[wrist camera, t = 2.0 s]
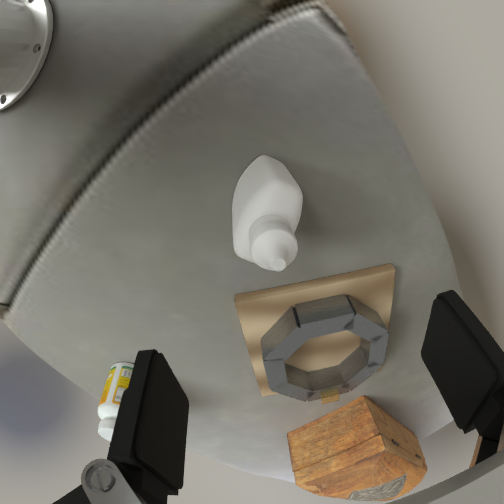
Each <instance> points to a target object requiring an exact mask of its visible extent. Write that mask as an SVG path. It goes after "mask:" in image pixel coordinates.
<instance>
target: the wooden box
mask: <svg viewBox="0 0 504 504" xmlns="http://www.w3.org/2000/svg"><path fill="white" fill-rule="evenodd" d="M287 438H288V445H289V451H290V457H291V463H292V470H293V472H294V476H295V481H296V485H297V486H299V487H301V488H303V489H305V490H307V491H309V492H312V493H314V494H317V495H320V496H325V497H333V498H342V499H346V500H359V501H360V500H361V501H386V500H391V499H394V498H397V497H399V496H402V495H404V494H405V493H407V492H409V491H411V490H412V489H413V488H414V487H416V485H418V484H419V483H420V482H421V480H422V479H423V477H424V475H425V474H426V472H427V466H426V463H425V458H424V456H423V453H422V450H421V448H420V445H419V442H418V440H417V438H416V436H415V434H414V433H413V432H412V431H410V430H409V429H408V428H406V427H405V426H404V425H402V424H401V423H400V422H398V421H397V420H396V419H394V418H393V417H392V416H391V415H389V414H388V413H387V412H386V411H384V410H383V409H382V408H381V407H379V406H378V405H377V404H375V403H374V402H373V401H372V400H370V399H369V398H368V397H366V396H365V395H363V396H361V397H359V398H358V399H356V400H354V401H352V402H350V403H349V404H347V405H345V406H343V407H341V408H339V409H337V410H335V411H333V412H331V413H329V414H327V415H325V416H323V417H321V418H319V419H317V420H315V421H313V422H311V423H309V424H307V425H305V426H302V427H300V428H298V429H296V430H294V431H291V432H289V433H287Z"/></svg>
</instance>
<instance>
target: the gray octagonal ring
mask: <svg viewBox="0 0 504 504" xmlns="http://www.w3.org/2000/svg"><path fill="white" fill-rule="evenodd" d="M345 330H348V331H350V332H352V333H354V334H356V335H358V336H360V337H361V339H360V346H359V347H358V348H357V349H356V350H355V351H354V352H352V353H351V354H350V355H349V356H348V357H347V358H346V359H345V360H343V361H342V362H341V363H340V364H339V365H336V366H332V367H328V368H323V369H319V370H314V371H310V372H307V371H304V370H302V369H299V368H296V367H294V366H291V365H289V364H286V363H284V361H285V360H287V359H288V358H289V357H290V356H291V355H292V354H293V353H294V352H295V351H296V350H297V349H298V348H299V347H301V346H302V345H303V344H304V343H305V342H306V341H307V340H308V339H310V338H314V337H319V336H324V335H328V334H332V333H337V332H341V331H345ZM388 337H389V332H388V330H387V328H386V326H385V324H384V322H383V321H382V319H381V317H380V315H379V314H378V312H376V311H375V310H373V309H371V308H370V307H368V306H367V305H365V304H363V303H362V302H360V301H358V300H357V299H355V298H354V297H352V296H350V295H349V294H347V295H345V293H344V294H340V295H335V296H331V297H326V298H321V299H316V300H312V301H307V302H302V303H297V304H295V307H293V306H291V307H290V308H289V309H288V310H287V311H286V312H285V313H284V314H283V315H282V316H281V317H280V318H279V320H278V321H277V322H276V323H275V324H274V325H273V326H272V327H271V328H270V329H269V330H268V331H267V332H266V333H265V334H264V335H263V336H262V337H261V340H260V342H261V350H262V359H263V364H264V368H265V372H266V376H267V380H268V384H269V388H270V389H271V390H272V391H273V392H276V393H279V394H283V395H286V396H289V397H292V398H296V399H299V400H302V401H306V400H308V401H312V400H317V399H321V402H322V404H325V403H329V402H333V401H337V400H339V394H343V393H347V392H349V390H351V391H352V390H353V389H354V388H355V387H357V386H358V385H359V384H361V383H362V382H363V381H364V380H366V379H367V378H368V377H369V376H370V375H372V374H373V373H374V372H375V371H376V370H378V369H379V368H380V367H381V366H382V364H384V359H385V354H386V349H387V343H388Z"/></svg>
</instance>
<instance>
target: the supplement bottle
mask: <svg viewBox="0 0 504 504" xmlns="http://www.w3.org/2000/svg"><path fill="white" fill-rule="evenodd" d="M133 367H134V364H131V363H127V362H120V363H116V364H115V365H113V366H112V367H111V369H110V372H109V375H108V378H107V381H106V384H105V387H104V391H103V394H102V397H101V400H100V404H99V407H98V415H99V417H100V419H101V422H100V423H99V428H98V433H99V434H100V436H102V437H103V438H105V439H106V440H108V441H110V442H111V438H112V434H113V430H114V426H115V422H116V418H117V414H118V410H119V406H120V402H121V398H122V395H123V392H124V390H125V389H127V388H128V385H129V382H130V378H131V374H132V371H133Z"/></svg>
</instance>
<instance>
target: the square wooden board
mask: <svg viewBox="0 0 504 504" xmlns="http://www.w3.org/2000/svg"><path fill="white" fill-rule="evenodd" d="M394 280H395V268H394V267H393V266H392V264H391V263H390V264H385V265H381V266H376V267H372V268H367V269H363V270H358V271H353V272H349V273H344V274H339V275H335V276H330V277H325V278H320V279H315V280H310V281H305V282H300V283H295V284H290V285H285V286H280V287H274V288H269V289H264V290H258V291H253V292H247V293H242V294H236V295H235V305H236V308H237V312H238V316H239V319H240V323H241V326H242V330H243V333H244V337H245V340H246V344H247V347H248V351H249V354H250V358H251V361H252V365H253V368H254V372H255V375H256V378H257V382H258V385H259V389H260V392H261V395H262V396H268V395H274V394H279V393H276V392H273V391H272V390H271V389H270V388H269V384H268V380H267V376H266V372H265V368H264V364H263V359H262V350H261V342H260V340H261V337H262V336H263V335H264V334H265V333H266V332H267V331H268V330H269V329H270V328H271V327H272V326H273V325H274V324H275V323H276V322H277V321H278V320H279V318H280V317H281V316H282V315H283V314H284V313H285V312H286V311H287V310H288V309H289V308H290V307H291V306H293V307H295V304H297V303H302V302H307V301H312V300H316V299H321V298H326V297H331V296H335V295H340V294H344V293H345V295H347V294H349V295H350V296H352V297H354V298H355V299H357V300H358V301H360V302H362V303H363V304H365V305H367V306H368V307H370V308H371V309H373V310H375V311H376V312H378V314H379V315H380V317H381V319H382V321H383V322H384V324H385V326H386V328H387V330H388V329H389V322H390V315H391V307H392V299H393V290H394ZM360 339H361V337H360V336H358V335H356V334H354V333H352V332H350V331H348V330H345V331H341V332H337V333H332V334H328V335H324V336H319V337H314V338H310V339H308V340H307V341H306V342H305V343H304V344H303V345H302V346H301V347H299V348H298V349H297V350H296V351H295V352H294V353H293V354H292V355H291V356H290V357H289V358H288V359H287V360H285V361H284V363H286V364H289V365H291V366H294V367H296V368H299V369H302V370H304V371H307V372H310V371H314V370H319V369H323V368H328V367H332V366H336V365H339V364H340V363H341V362H342V361H343V360H345V359H346V358H347V357H348V356H349V355H350V354H351V353H352V352H354V351H355V350H356V349H357V348H358V347H359V346H360ZM381 369H382V366H381V367H380V368H379V369H378V370H381ZM378 370H376V371H378Z"/></svg>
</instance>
